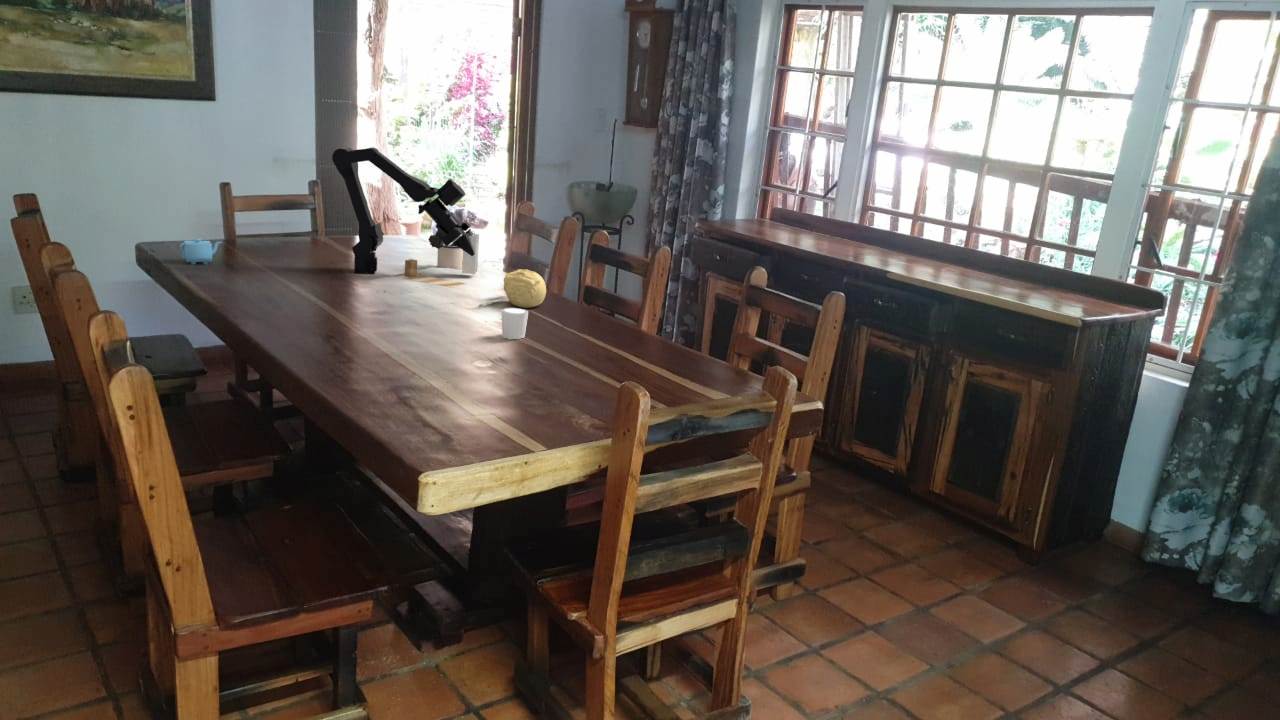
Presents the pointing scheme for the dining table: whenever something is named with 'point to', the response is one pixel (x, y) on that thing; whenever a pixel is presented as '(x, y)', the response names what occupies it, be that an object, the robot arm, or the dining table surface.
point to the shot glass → (514, 322)
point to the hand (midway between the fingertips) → (474, 253)
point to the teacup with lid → (450, 257)
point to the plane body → (412, 275)
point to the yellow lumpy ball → (524, 288)
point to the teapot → (198, 251)
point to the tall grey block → (468, 260)
